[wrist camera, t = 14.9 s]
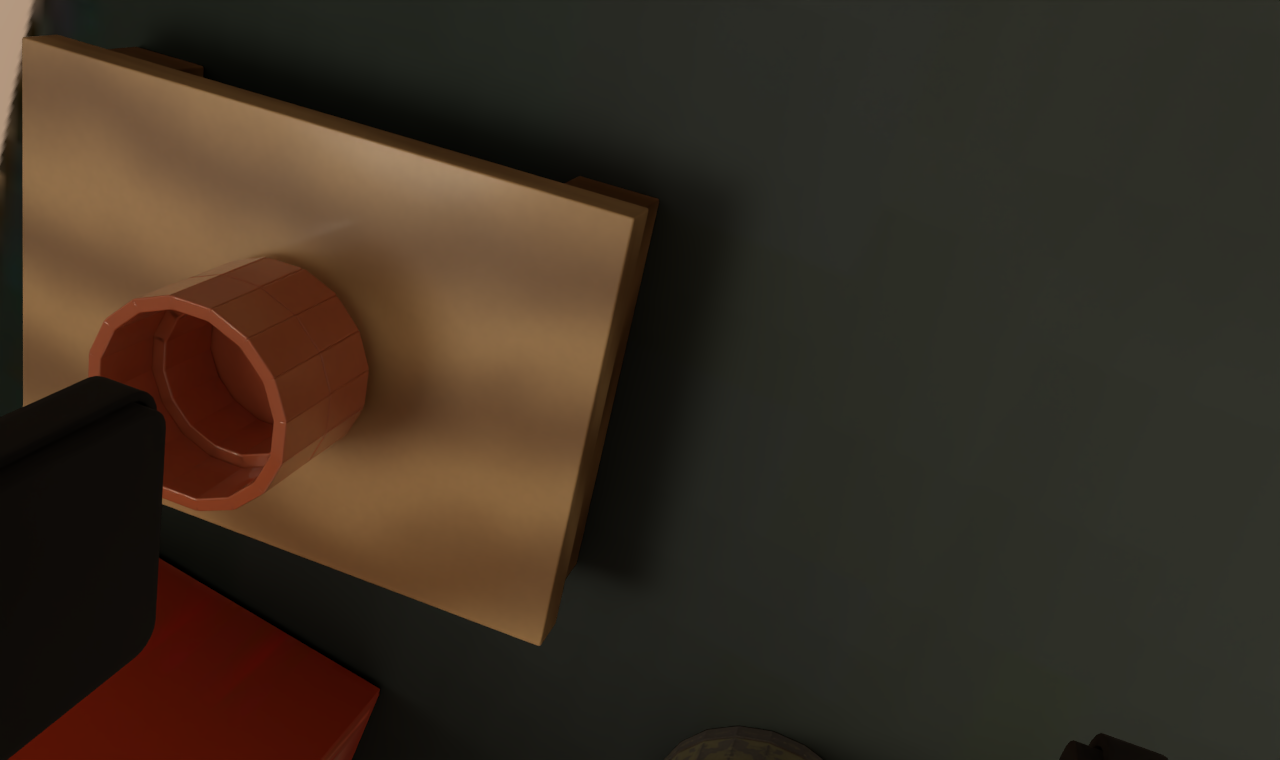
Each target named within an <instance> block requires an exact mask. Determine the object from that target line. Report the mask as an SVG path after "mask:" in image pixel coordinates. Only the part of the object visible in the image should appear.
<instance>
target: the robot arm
mask: <svg viewBox="0 0 1280 760" xmlns="http://www.w3.org/2000/svg"><path fill="white" fill-rule="evenodd" d="M165 438H166V421H165V418H164V416H163V414H162V413H160V412H159V411H157V405H156V403H155V400H154V398H153V397H152V396H151V395H150V394H149V393H148V392H145V391H142V390H139V389H137V388H134V387H131V386H128V385H125V384H123V383H120V382H117V381H114V380H111V379H109V378H106V377H102V376H93V377H89V378H86V379H84V380H82V381H80V382H77V383H75V384H73V385H71V386H68V387H66V388H64V389H62V390H60V391H57V392H55V393H53V394H51V395H49V396H46V397H44V398H42V399H40V400H37V401H35V402H33V403H31V404H29V405H26V406H24V407H22V408H20V409H17V410H15V411H13V412H11V413H9V414H6V415H4V416H2V417H0V760H8V759H9V758H10V757H11V756H13V755H14V754H15V753H16V752H18V751H19V750H20V749H21V748H23V747H24V746H25V745H26V744H28V743H29V742H30V741H32V740H33V739H34V738H35V737H37V736H38V735H39V734H40V733H42V732H43V731H44V730H45V729H47V728H48V727H49V726H50V725H52V724H53V723H54V722H55V721H57V720H58V719H59V718H60V717H62V716H63V715H64V714H65V713H67V712H68V711H69V710H70V709H72V708H73V707H74V706H75V705H77V704H78V703H79V702H80V701H82V700H83V699H84V698H85V697H87V696H88V695H89V694H90V693H92V692H93V691H94V690H95V689H97V688H98V687H99V686H100V685H102V684H103V683H104V682H105V681H107V680H108V679H109V678H110V677H112V676H113V675H114V674H115V673H117V672H118V671H119V670H120V669H122V668H123V667H124V666H125V665H127V664H128V663H129V662H130V661H132V660H133V659H134V658H135V657H136V656H137V655H138V654H139V653H140V652H141V651H142V650H143V649H144V647H145V646H146V645H147V643H148V641H149V639H150V637H151V635H152V633H153V630H154V627H155V621H156V604H157V586H158V567H159V549H160V530H161V512H162V493H163V475H164V456H165ZM1059 760H1168V758H1166V757H1165V756H1164V755H1162V754H1159V753H1156V752H1153V751H1150V750H1148V749H1145V748H1142V747H1139V746H1136V745H1134V744H1131V743H1128V742H1125V741H1122V740H1120V739H1117V738H1114V737H1111V736H1108V735H1106V734H1103V733H1101V734H1098V735H1096V736H1095V737H1094V739H1093V740H1092V741H1091V743H1090V744H1089V746H1088V745H1085V744H1082V743H1079V742H1077V741H1074V740H1073V741H1070V742H1069V743H1068V745H1067V746H1066V747H1065V749H1064V751H1063V753H1062V755H1061V757H1060V759H1059Z"/></svg>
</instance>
